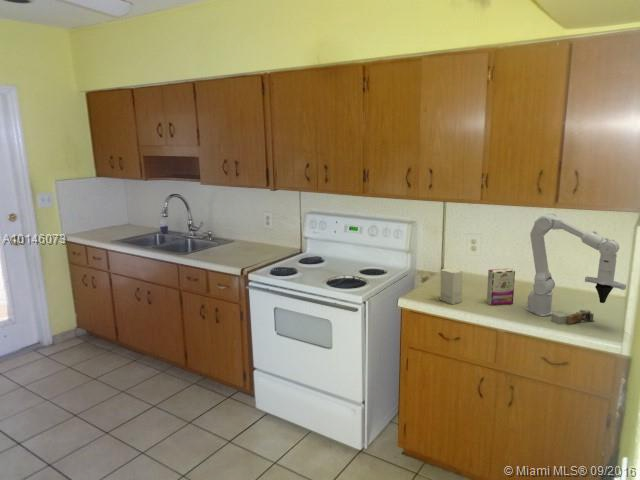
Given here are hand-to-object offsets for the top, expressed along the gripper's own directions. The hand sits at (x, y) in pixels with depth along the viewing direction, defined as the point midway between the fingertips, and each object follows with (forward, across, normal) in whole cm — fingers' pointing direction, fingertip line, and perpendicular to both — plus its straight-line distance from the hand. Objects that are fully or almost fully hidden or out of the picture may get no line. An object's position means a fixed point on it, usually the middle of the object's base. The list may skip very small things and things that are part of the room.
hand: (602, 302), depth 189 cm
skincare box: (+11, -58, -22) cm, 62 cm away
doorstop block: (+11, -13, -8) cm, 18 cm away
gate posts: (+10, -6, +2) cm, 12 cm away
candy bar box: (+11, -41, -7) cm, 43 cm away
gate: (+10, -8, -2) cm, 13 cm away
